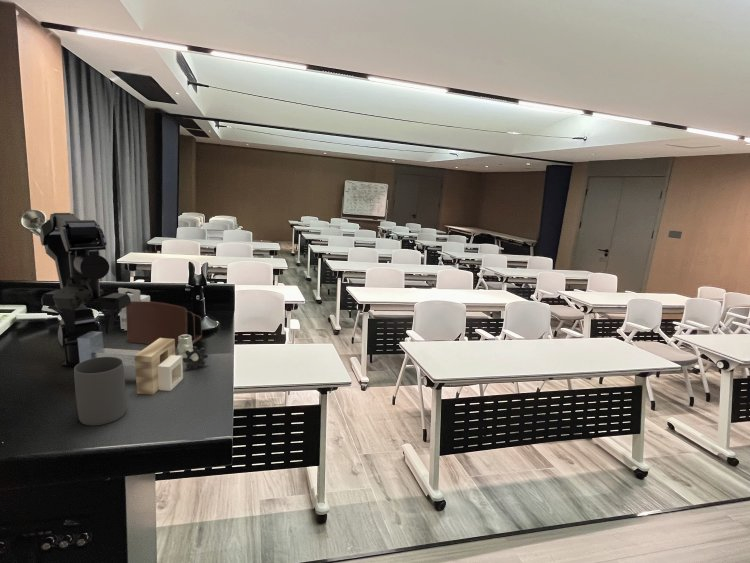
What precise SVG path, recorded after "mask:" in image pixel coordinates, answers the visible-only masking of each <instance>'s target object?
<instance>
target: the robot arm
mask: <svg viewBox="0 0 750 563" xmlns="http://www.w3.org/2000/svg"><path fill="white" fill-rule="evenodd" d="M39 240H40V244H41V246H43V247H44V249H45V250H44V251H45V253H46V255H48V256H49V257H50V258H51V259H52V260H53V261H54V263H55V268H56V272H57V278H58V282H59V286H60V289H54V290H52V291H48V292H46V293H43V295H42V297H41V306H42V307H43V306H44V307H47V308H48V309H49V310H52V311H54V312H56V313H58V315H59V316H60V318H61V319H60V324H59V326H58V330H57V339H58V343H59V344H60V346H62V348H64V356H65V358H64V359H65V361H64V362H62V363H61V366H63V367H75V366H76V365H77V364H79V363H80V359H79V349H78V338H79V337H81V336H83V335H84V334H86V333H88V332H90V331H95V332H100V329H101V324H100V323H99V321H98V320H97V318H96V319H95V316H94V314H95V313H94V310H93V309H92V308H91V307H87V306H86V304H93V305H95V304H96V305H100V306H101V308H102V310H100V312H101V313H102V315H103V316H104V329H105V334H106V335H110V334H111V333H112V329H113V328H114V325H115V322H116V320H117V318H118V316H119V315H120V311H121V309H123V308H125V307H126V306H128V305H130V304H131V300H130V297H129V295H128V293H126V294H122V293H118V292H113V293H110V294H108V295H105V296H104V292H105V291H104V289H101V287H100V280H102V279H103V278H104V277H106V276H107V275H108V274H109V270H110V263H109V261H108V259H106V258H105V257H103V256H102V255H100V252H99V251H103V250H105V251H106V250H107V248H106V246H107V240H106V236H105V233H104V231H103V229H102V228H101V226H100V224H98V223H97V221H96V220H94V219H80V218H78V217H76V216H75V214H74V213H71V212H53V213H50V215H49V219H48V220H46V222H44V223H42V224H41V226H40V232H39ZM101 295H103V296H101Z"/></svg>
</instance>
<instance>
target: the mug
mask: <svg viewBox="0 0 750 563" xmlns="http://www.w3.org/2000/svg"><path fill="white" fill-rule="evenodd" d="M73 375H74V376H73V378H74V388H75V389H74V390H75V391H74V392H75V399H76V409H77V415H78V419H79V421H80V423H81V424H83V425H85V426H101V425H106V424H109V423H112V422H115V421H117V420H119V419H120V418H122V417H123V416H125V413H126V412H127V397H126V396H127V394H126V393H127V392H126V381H125V379H126V378H125V367H124V366H123V361H122V360H121V359H119V358H116V357H98V358H93V359H89V360H86V361H83V362H81V363H79V364H77V365H76V366H74V368H73Z"/></svg>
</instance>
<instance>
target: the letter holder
mask: <svg viewBox="0 0 750 563" xmlns="http://www.w3.org/2000/svg"><path fill="white" fill-rule="evenodd" d="M126 316H127V317H126V319H127V330H126V340H127V343H129V342H131V344H139V343H140V344H141V345H148V346H149V345H150V344H152V343H153V342H155V341H156V340H157V339H159V338H168V339H175V348H177V346H178V343H179V342H178V336H180V335H185V334H187V335H191V337H192V344H193V345H194V344H196V343H197V342H198V341H199V340H201V339H202V337H203V330H202V328H203V326H202V317H201V316H200V315H197V314H195V313H193V311H189V310H188V309H187V308H186V307H185V306H180V305H177V304H172V303H171V304H170V303H167V302H158V301H150V302H131V304H130V305H128V306H126Z"/></svg>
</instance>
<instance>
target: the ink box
mask: <svg viewBox="0 0 750 563" xmlns="http://www.w3.org/2000/svg"><path fill="white" fill-rule="evenodd" d="M117 291H118V292H117V293H122V294H128V295H129V297H130V300H131V302H151V296H150V295H146V294H141V290H140V289H132V288H124V287H118V289H117ZM126 317H127V316H126V307H125V308H123V309H121V311H120V312H119V320H120V330H121V329H124V330H123V331H127V319H126Z"/></svg>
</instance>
